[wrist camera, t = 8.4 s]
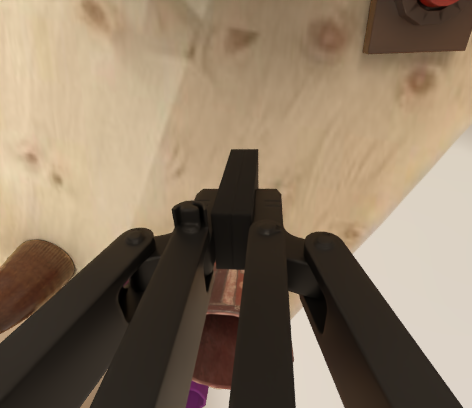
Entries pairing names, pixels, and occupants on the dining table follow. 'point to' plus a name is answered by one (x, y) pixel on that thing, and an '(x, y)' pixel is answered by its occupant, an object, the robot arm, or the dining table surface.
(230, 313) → the pottery
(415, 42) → the switch box
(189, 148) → the dining table surface
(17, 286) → the lamp
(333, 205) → the dining table surface
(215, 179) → the dining table surface
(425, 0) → the lamp switch
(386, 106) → the dining table surface
